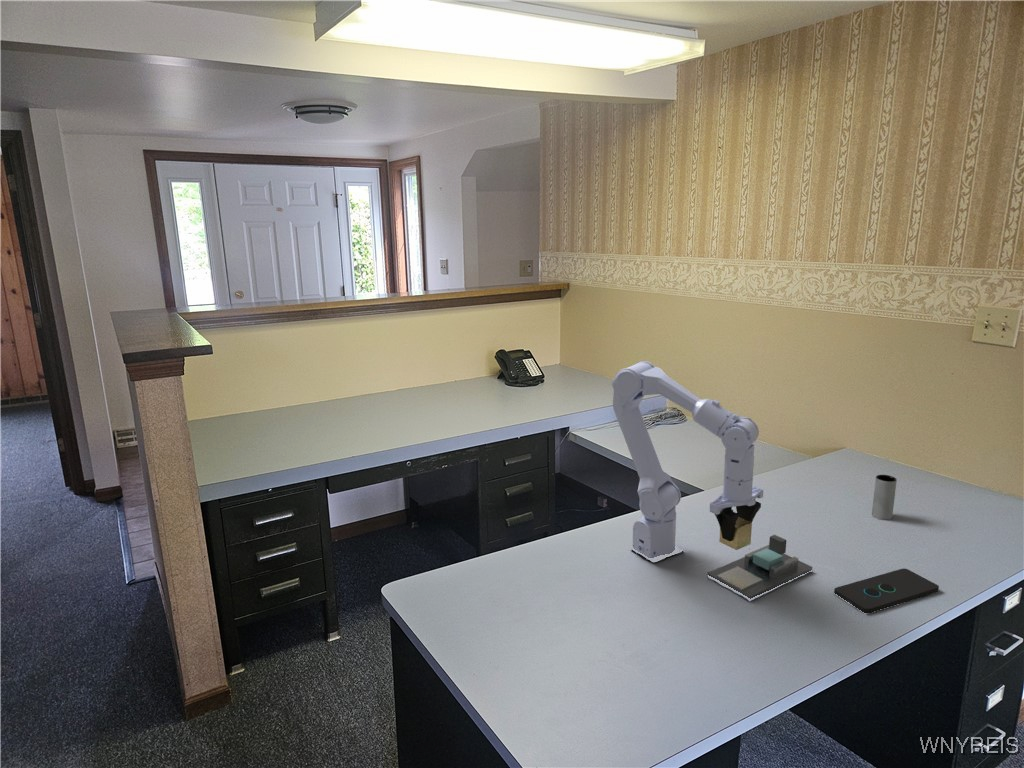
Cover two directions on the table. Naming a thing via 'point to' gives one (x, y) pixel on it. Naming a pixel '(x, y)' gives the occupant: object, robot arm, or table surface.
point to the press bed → (758, 574)
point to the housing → (739, 534)
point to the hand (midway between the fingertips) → (735, 536)
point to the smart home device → (886, 590)
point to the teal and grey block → (771, 553)
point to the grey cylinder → (884, 497)
